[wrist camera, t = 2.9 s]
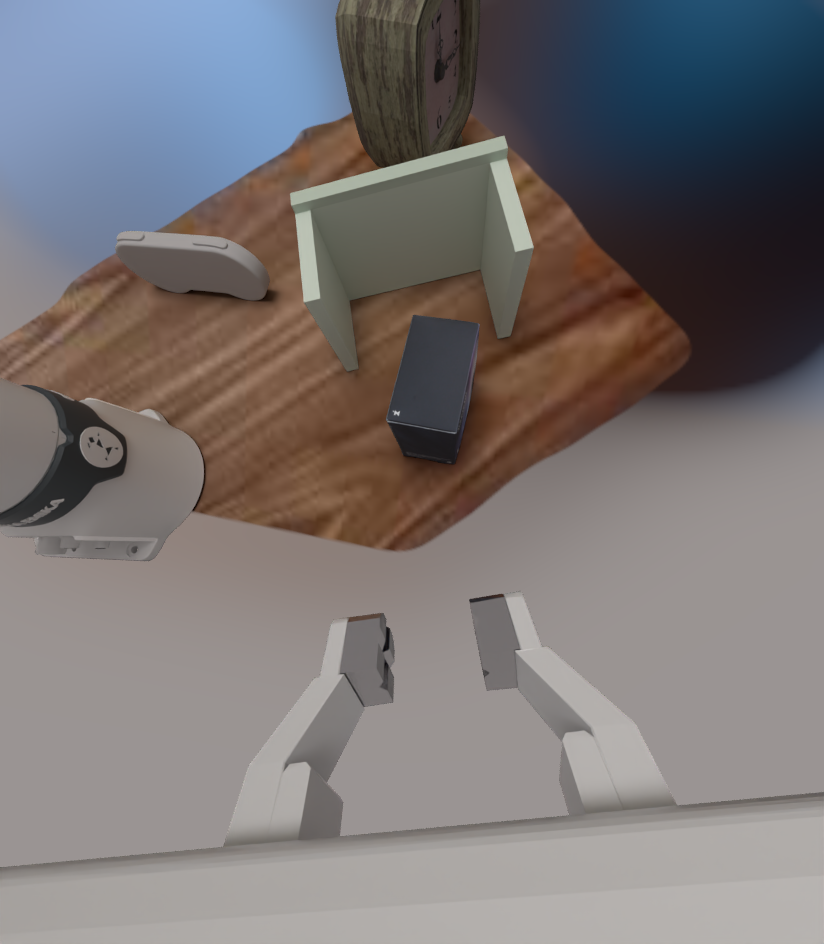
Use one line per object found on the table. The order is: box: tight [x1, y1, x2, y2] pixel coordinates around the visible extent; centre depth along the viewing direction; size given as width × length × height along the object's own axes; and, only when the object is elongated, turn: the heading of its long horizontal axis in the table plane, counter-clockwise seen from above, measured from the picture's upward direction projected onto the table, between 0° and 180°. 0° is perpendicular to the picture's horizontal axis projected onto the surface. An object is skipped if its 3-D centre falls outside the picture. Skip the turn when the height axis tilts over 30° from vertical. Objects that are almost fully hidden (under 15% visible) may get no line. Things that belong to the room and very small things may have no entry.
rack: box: [290, 136, 534, 371], centre depth 35 cm, size 20×12×13 cm, turn 99°
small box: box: [386, 315, 479, 464], centre depth 33 cm, size 11×6×10 cm, turn 167°
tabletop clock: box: [336, 0, 480, 168], centre depth 34 cm, size 14×9×25 cm, turn 152°
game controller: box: [115, 231, 270, 300], centre depth 43 cm, size 20×2×8 cm, turn 78°
